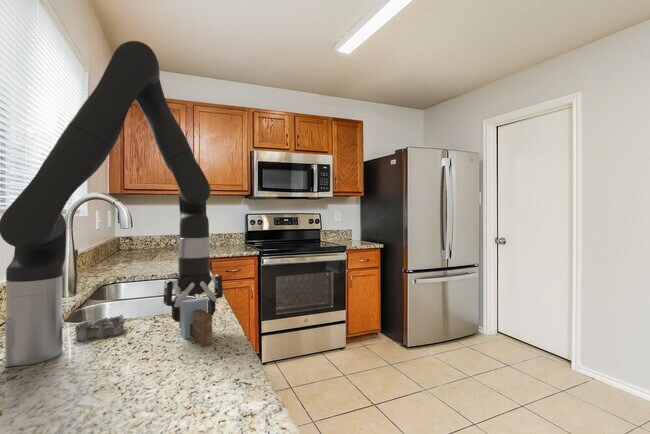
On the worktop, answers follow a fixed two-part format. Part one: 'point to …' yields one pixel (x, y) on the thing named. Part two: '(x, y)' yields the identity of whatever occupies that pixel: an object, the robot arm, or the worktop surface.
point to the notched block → (190, 314)
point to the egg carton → (99, 328)
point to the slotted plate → (200, 327)
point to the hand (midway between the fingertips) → (194, 317)
